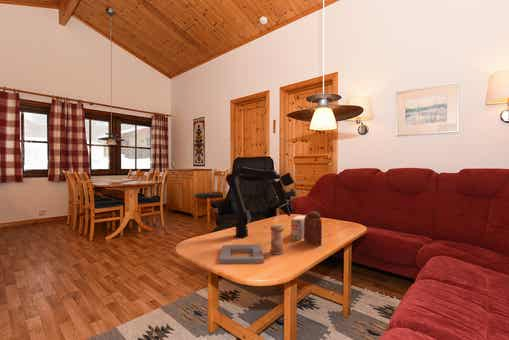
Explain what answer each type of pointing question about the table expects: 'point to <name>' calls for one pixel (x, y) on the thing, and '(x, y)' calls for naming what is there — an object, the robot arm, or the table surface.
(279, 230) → the cord spool
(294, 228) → the stack of blocks
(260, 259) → the gray square frame
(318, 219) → the wooden figurine
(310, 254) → the table surface
